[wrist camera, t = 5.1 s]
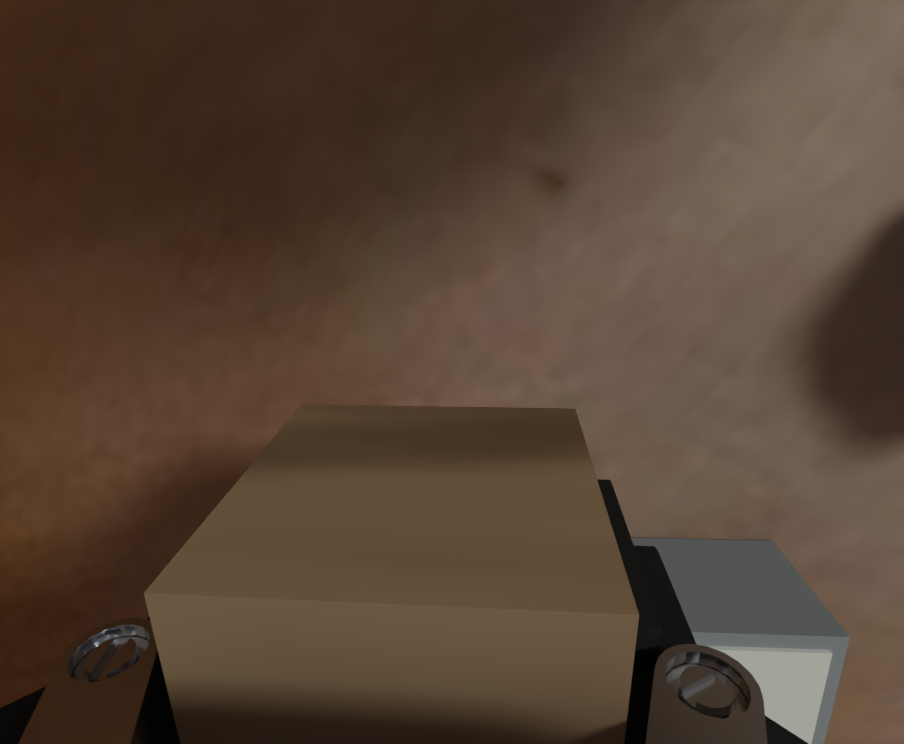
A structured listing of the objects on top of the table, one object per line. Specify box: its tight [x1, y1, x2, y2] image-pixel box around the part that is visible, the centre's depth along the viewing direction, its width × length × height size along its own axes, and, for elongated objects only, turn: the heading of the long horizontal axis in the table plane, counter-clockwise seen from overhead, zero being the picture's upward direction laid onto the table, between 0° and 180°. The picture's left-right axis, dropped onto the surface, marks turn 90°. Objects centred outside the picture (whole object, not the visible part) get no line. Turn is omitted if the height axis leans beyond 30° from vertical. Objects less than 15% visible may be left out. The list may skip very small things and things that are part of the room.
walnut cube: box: [144, 404, 639, 744], centre depth 10 cm, size 6×6×6 cm
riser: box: [631, 538, 850, 744], centre depth 21 cm, size 9×9×5 cm
